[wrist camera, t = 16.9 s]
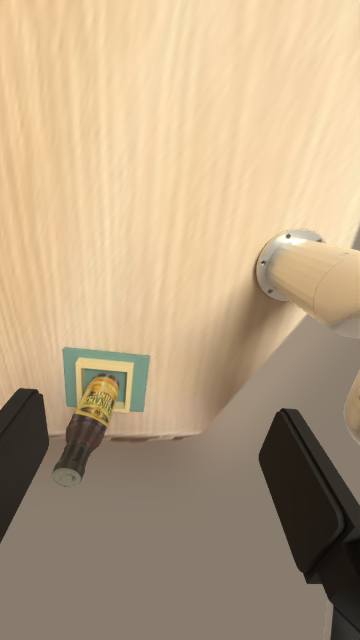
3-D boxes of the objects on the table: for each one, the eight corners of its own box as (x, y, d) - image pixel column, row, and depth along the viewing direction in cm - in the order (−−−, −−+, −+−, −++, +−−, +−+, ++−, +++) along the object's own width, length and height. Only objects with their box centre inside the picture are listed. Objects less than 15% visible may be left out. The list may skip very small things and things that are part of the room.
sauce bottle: (126, 379, 50) (102, 475, 32) (111, 398, 52) (81, 498, 34) (98, 365, 48) (56, 458, 30) (84, 385, 50) (37, 483, 32)
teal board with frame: (149, 355, 49) (148, 363, 46) (143, 409, 55) (142, 419, 52) (64, 347, 47) (58, 355, 44) (68, 403, 53) (63, 413, 50)
